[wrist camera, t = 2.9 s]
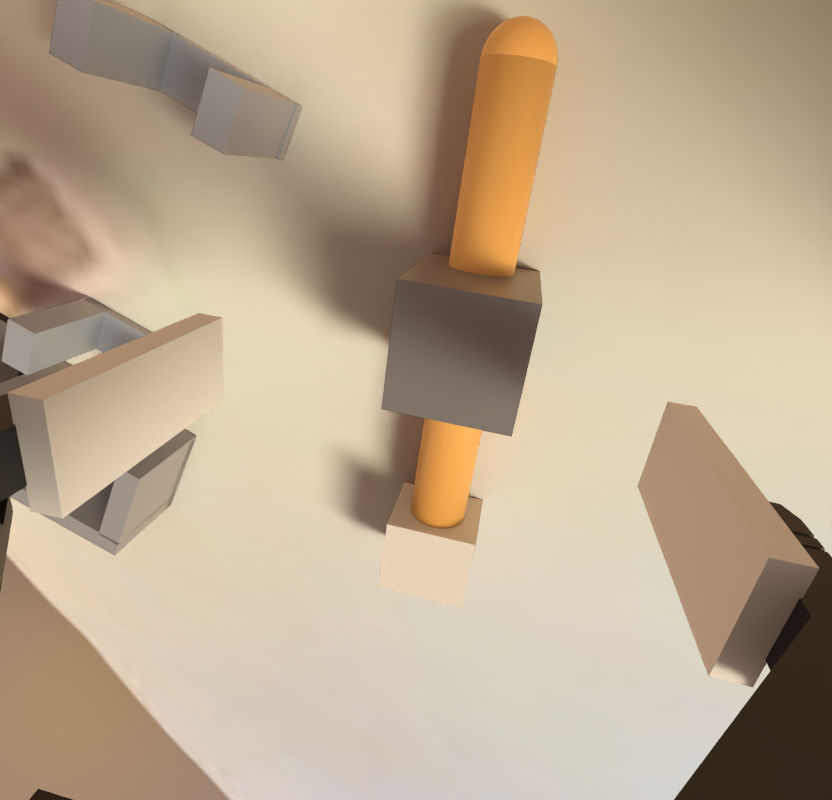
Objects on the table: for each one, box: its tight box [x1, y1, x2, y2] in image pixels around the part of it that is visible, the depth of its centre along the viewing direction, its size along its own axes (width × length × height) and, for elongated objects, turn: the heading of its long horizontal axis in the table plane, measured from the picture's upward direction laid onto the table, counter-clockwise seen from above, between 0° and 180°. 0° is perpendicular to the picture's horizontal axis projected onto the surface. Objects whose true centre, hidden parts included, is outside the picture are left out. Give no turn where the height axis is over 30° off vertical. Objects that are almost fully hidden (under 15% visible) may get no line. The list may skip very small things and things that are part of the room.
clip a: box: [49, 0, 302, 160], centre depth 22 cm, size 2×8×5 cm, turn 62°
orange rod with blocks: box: [379, 16, 558, 608], centre depth 23 cm, size 25×5×7 cm, turn 172°
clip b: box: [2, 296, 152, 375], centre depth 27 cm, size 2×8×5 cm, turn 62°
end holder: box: [0, 361, 196, 555], centre depth 30 cm, size 6×9×5 cm, turn 62°
